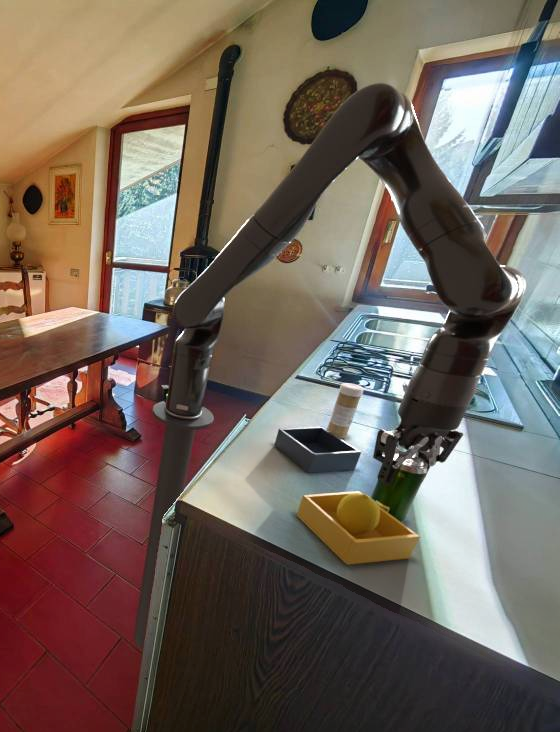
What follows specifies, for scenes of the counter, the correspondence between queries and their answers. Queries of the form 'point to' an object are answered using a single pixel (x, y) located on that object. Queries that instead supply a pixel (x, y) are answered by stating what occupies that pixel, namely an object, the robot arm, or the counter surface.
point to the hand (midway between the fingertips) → (399, 481)
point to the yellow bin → (356, 548)
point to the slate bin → (317, 449)
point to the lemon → (358, 513)
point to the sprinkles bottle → (344, 409)
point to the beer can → (401, 488)
